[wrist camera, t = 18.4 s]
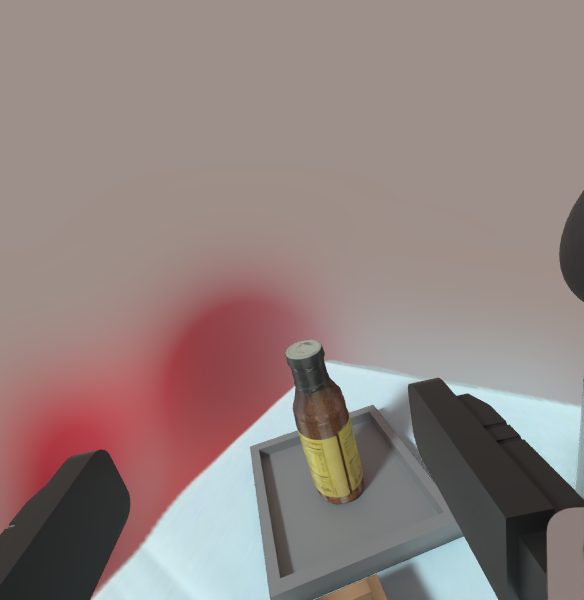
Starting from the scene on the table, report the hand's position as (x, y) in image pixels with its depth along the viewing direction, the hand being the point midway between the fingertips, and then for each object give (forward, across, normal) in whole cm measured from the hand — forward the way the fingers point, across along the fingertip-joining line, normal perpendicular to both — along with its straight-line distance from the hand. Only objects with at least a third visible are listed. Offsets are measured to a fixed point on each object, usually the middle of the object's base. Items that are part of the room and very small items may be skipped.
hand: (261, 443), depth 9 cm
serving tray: (+24, -1, +31) cm, 39 cm away
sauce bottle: (+24, -1, +30) cm, 38 cm away
